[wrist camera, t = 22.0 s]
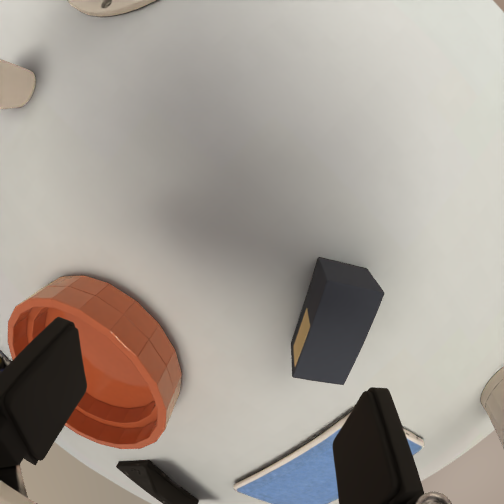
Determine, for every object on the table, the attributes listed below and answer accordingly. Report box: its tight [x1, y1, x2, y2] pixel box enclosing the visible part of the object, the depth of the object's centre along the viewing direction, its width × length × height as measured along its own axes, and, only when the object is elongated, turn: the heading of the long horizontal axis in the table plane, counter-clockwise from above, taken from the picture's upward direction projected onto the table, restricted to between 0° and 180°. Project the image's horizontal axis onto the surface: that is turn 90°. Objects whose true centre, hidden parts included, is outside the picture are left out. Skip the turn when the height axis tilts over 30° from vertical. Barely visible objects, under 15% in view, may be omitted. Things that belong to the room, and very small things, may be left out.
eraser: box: [291, 257, 384, 385], centre depth 19 cm, size 7×4×4 cm, turn 168°
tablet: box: [233, 411, 424, 504], centre depth 27 cm, size 19×13×1 cm, turn 142°
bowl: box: [8, 276, 182, 449], centre depth 22 cm, size 15×15×5 cm
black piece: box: [116, 460, 199, 504], centre depth 28 cm, size 12×7×10 cm
